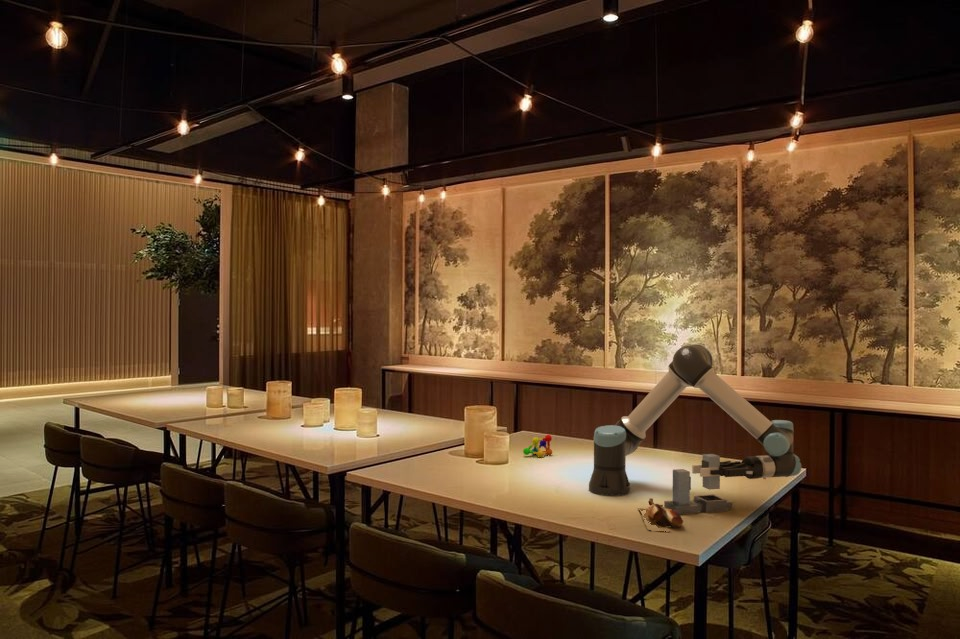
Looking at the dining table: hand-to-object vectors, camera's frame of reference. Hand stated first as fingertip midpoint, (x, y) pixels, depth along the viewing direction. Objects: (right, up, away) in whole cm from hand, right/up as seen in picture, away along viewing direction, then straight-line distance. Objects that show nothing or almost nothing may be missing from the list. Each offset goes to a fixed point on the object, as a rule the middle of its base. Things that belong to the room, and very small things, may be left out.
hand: (696, 470), depth 230 cm
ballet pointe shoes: (-15, -14, -11) cm, 23 cm away
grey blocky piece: (+1, -13, +1) cm, 13 cm away
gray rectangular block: (+5, -6, +1) cm, 8 cm away
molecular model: (-46, -13, +87) cm, 99 cm away
